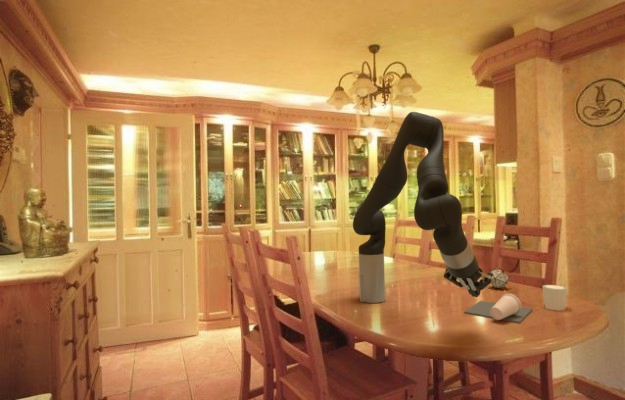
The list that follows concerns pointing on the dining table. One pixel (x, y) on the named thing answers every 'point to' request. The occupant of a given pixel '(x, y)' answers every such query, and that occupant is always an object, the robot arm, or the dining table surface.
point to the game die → (499, 278)
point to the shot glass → (555, 297)
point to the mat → (484, 310)
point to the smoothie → (506, 307)
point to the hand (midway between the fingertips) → (475, 294)
